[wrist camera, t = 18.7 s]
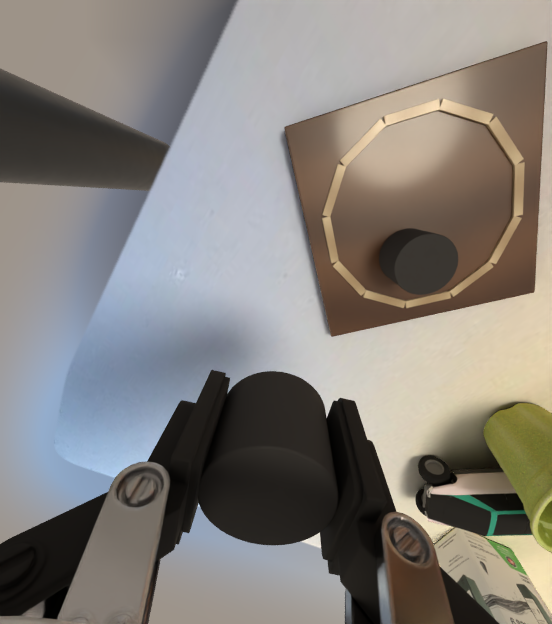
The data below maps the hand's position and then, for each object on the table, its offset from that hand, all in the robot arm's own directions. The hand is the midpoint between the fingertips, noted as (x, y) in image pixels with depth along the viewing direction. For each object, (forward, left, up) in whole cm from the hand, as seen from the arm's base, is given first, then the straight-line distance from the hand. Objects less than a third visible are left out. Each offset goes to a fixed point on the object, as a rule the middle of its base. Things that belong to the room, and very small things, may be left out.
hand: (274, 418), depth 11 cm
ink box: (+37, +14, -15) cm, 42 cm away
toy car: (+24, +14, -15) cm, 32 cm away
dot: (-1, +10, -13) cm, 17 cm away
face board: (-4, +11, -14) cm, 19 cm away
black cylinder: (0, 0, 0) cm, 0 cm away
